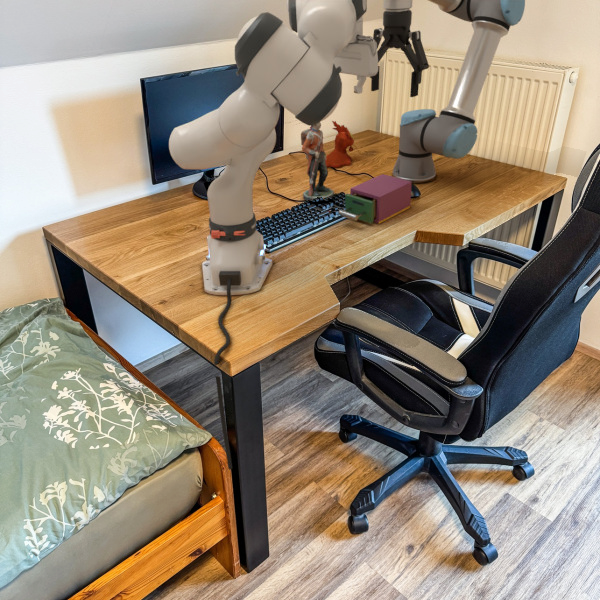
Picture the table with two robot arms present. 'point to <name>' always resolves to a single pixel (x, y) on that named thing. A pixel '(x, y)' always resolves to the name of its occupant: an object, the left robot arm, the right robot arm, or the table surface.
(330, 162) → the toy
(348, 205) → the drawer
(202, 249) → the table surface
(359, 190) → the cabinet
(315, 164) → the figurine
